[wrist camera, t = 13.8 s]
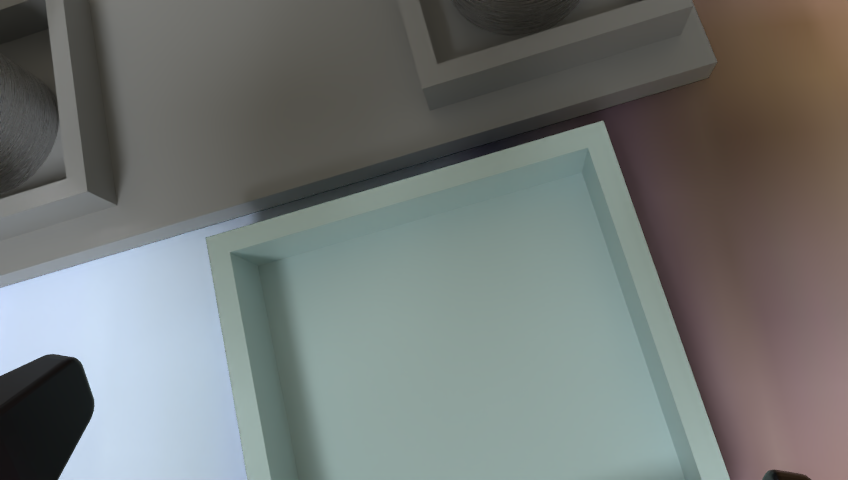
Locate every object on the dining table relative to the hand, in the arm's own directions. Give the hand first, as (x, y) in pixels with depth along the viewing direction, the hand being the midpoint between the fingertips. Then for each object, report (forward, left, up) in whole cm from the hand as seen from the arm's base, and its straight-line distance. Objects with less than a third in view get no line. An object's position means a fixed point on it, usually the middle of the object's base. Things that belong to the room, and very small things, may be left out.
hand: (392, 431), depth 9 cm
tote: (0, +1, -11) cm, 11 cm away
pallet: (-4, +13, -11) cm, 17 cm away
